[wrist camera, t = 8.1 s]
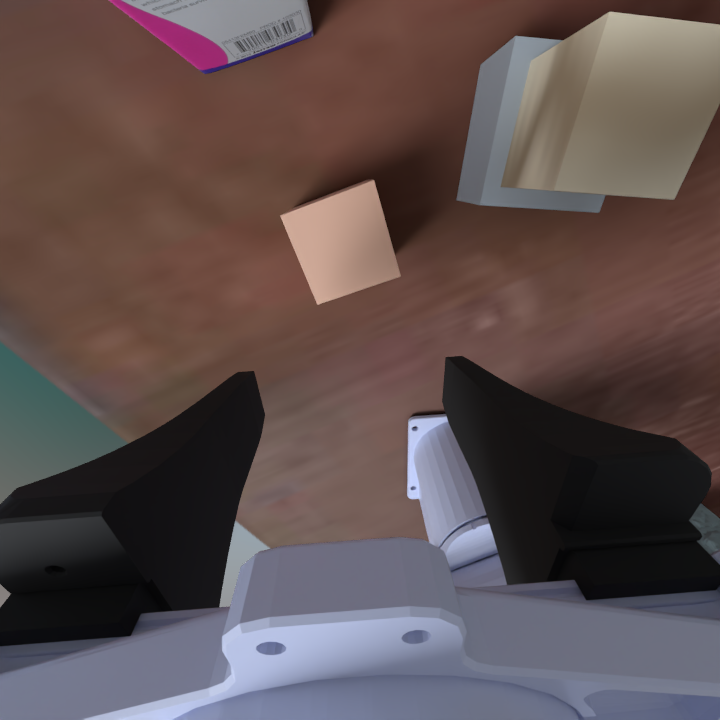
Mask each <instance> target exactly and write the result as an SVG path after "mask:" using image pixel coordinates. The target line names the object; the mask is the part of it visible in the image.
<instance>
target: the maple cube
mask: <svg viewBox="0 0 720 720" xmlns="http://www.w3.org/2000/svg"><path fill="white" fill-rule="evenodd" d="M719 104H720V25H719V24H710V23H702V22H693V21H685V20H676V19H668V18H659V17H651V16H642V15H634V14H625V13H617V12H608V13H607V14H605V15H603V16H602V17H600V18H599V19H597V20H595V21H594V22H592V23H591V24H589V25H587V26H586V27H584V28H583V29H581V30H579V31H578V32H576V33H575V34H573V35H571V36H570V37H568V38H567V39H565V40H563V41H562V42H560V43H559V44H557V45H555V46H554V47H552V48H551V49H549V50H547V51H546V52H544V53H543V54H541V55H539V56H538V57H536V58H535V59H533V60H531V62H530V67H529V71H528V75H527V79H526V83H525V87H524V91H523V96H522V100H521V104H520V108H519V112H518V116H517V120H516V125H515V129H514V133H513V137H512V141H511V145H510V149H509V154H508V158H507V162H506V166H505V170H504V174H503V178H502V182H501V187H507V188H520V189H533V190H546V191H559V192H572V193H585V194H598V195H613V196H628V197H642V198H657V199H671V200H674V199H675V197H676V195H677V193H678V191H679V189H680V186H681V184H682V182H683V180H684V178H685V176H686V174H687V172H688V170H689V168H690V165H691V163H692V161H693V159H694V157H695V155H696V153H697V151H698V149H699V146H700V144H701V142H702V140H703V138H704V136H705V134H706V132H707V130H708V128H709V125H710V123H711V121H712V119H713V117H714V115H715V113H716V111H717V109H718V106H719Z"/></svg>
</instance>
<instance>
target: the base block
mask: <svg viewBox="0 0 720 720" xmlns="http://www.w3.org/2000/svg"><path fill="white" fill-rule="evenodd" d="M562 41H563V40H553V39H543V38H533V37H523V36H515V37H514V38H513V39H511V40H510V41H509V42H508V43H506V44H505V45H504V46H503V47H502V48H500V49H499V50H498V51H497V52H495V53H494V54H493V55H492V56H491V57H489V58H488V59H487V60H486V61H485V62H483V63H482V64H481V66H480V71H479V77H478V82H477V88H476V94H475V99H474V105H473V110H472V116H471V121H470V127H469V132H468V138H467V143H466V149H465V155H464V160H463V166H462V171H461V177H460V182H459V188H458V193H457V199H456V200H458V201H463V202H467V203H472V204H477V205H486V206H502V207H517V208H533V209H549V210H565V211H581V212H597V213H599V212H600V209H601V206H602V204H603V201H604V198H605V196H606V195H598V194H585V193H572V192H559V191H546V190H533V189H520V188H507V187H501V182H502V178H503V174H504V170H505V166H506V162H507V158H508V154H509V149H510V145H511V141H512V137H513V133H514V129H515V125H516V120H517V116H518V112H519V108H520V104H521V100H522V96H523V91H524V87H525V83H526V79H527V75H528V71H529V67H530V62H531V60H533V59H535V58H536V57H538V56H539V55H541V54H543V53H544V52H546V51H547V50H549V49H551V48H552V47H554V46H555V45H557V44H559V43H560V42H562Z"/></svg>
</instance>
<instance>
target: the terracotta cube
mask: <svg viewBox="0 0 720 720" xmlns="http://www.w3.org/2000/svg"><path fill="white" fill-rule="evenodd" d="M281 219H282V221H283V224H284V226H285V228H286V231H287V233H288V236H289V238H290V240H291V243H292V245H293V247H294V250H295V252H296V255H297V257H298V259H299V262H300V264H301V266H302V269H303V271H304V274H305V276H306V278H307V281H308V283H309V286H310V288H311V290H312V293H313V295H314V297H315V300H316V302H317V305H318V304H321V303H324V302H327V301H330V300H333V299H336V298H339V297H342V296H345V295H348V294H350V293H353V292H356V291H359V290H362V289H365V288H368V287H371V286H374V285H377V284H380V283H383V282H386V281H389V280H392V279H394V278H397V277H400V272H399V268H398V265H397V261H396V257H395V254H394V250H393V247H392V243H391V239H390V236H389V232H388V228H387V225H386V221H385V218H384V214H383V210H382V207H381V203H380V199H379V196H378V192H377V189H376V185H375V181H374V180H365V181H363V182H360V183H357V184H355V185H352V186H349V187H347V188H344V189H342V190H339V191H336V192H334V193H331V194H328V195H326V196H323V197H321V198H318V199H315V200H313V201H310V202H308V203H305V204H302V205H300V206H297V207H294V208H292V209H291V210H289V211H287V212H286V213H284V214H282V215H281Z"/></svg>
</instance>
